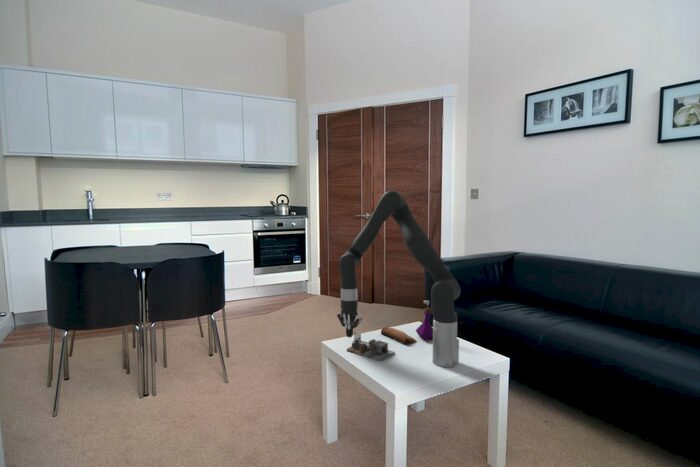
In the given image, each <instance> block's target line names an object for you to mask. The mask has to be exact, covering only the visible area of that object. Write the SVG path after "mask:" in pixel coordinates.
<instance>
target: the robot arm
mask: <svg viewBox="0 0 700 467" xmlns="http://www.w3.org/2000/svg"><path fill="white" fill-rule="evenodd" d="M390 216H391V218H393V219H394V221H395V223H396V224H397V226H398V227H399V229H400V232H401V235H402V239H403V242H404V244H405V246H406V248H407V249H408V251H409V253H410V255H411V256H412V257H413V259H414V260H415V261H416V262H418V264H419V265H420V266H422V267H423V269H425V270H426V272H428V273H429V275H431V277H432V280H434V284H433V285H432V287H431V291H430V303H431V304H430V307H431V312H432V314H431V315H432V317H433V318H432V328H433V339H432V363H433V364H434V365H436V366H439V367H441V368H442V367H445V368H446V367H447V368H453V367H455V366H457V365H458V364H460V363H459V360H460V358H459V357H460V339H459V338H458V314H457V312H456V311H455V303H454V302H455V301H456V300H457V299H458V298H459V297H460V295H461V286H460V284H459V283H458V281H457V279H456V278H455V277H454V276H453V274H452V272H450V270H449V269H448V268H447V266H446V265H445V263H444V261H443V260H442V259H441V257H440V255H439V254H438V251H436V249H435V248H434V245H433V244H432V242H431V241H430V239H429V237H428V236H427V234H426V232H425V231H424V230H423V228H422V227H421V225H420V224H419V223H418V221H417V220H416V219H415V217H414V216H413V214H412V212H411V210H410V207H409V206H408V204H407V201H406V199H405V198H404V196H403V195H402V194H400V193H399V192H397V191H396V190H388V191H385V192H384V193H383V194H382V196H381V197H380V199H379V201H378V203H377V205H376V207H375V209H374V211H373V212H372V214H371V216H370V217H369V219H368V220H367V222H366V224H365V225H364V227H363V228H362V229H361V231H360V232H359V233H358V234H357V236H356V237H355V239H354V240H353V241H352V243H351V246H350V247H349V248H348V249H347V251H346V252H345V253H344V254H342V256H340V258H339V272H340V279H341V280H340V313H338V314H337V315H336V317H337V318H338V321H339V323H340V324H341V326H342V327H344V328H345V335H346V337H347V338H352V337H354V329H356V328H357V327H358V326H359V325H360V323H361V321H362V320H363V318H362V317H360V316H359V314H358V308H359V303H358V302H359V299H358V298H359V297H358V295H359V294H358V293H359V292H358V277H357V275H356V266H357V265H358V263H359V262H360V261H361V259H362V258H363V256H364V254H365V253H366V252H367V251H368V250H369V248H370V247H372V244H374V242H375V240H376V238H377V236H378V234H379V233H380V230H381V228H382V226H383V224H384V223H385V222H386V220H387V219H388V218H389V217H390Z"/></svg>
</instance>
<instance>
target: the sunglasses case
mask: <svg viewBox="0 0 700 467" xmlns="http://www.w3.org/2000/svg"><path fill="white" fill-rule="evenodd" d="M380 334H381V335H383V336H387V337H390V338H392V339H393V340H396V341H398V342H400V343H402V344H403V345H405V346H407V345H411V344H415V343H418V340H416V339H415V338H413V337H411V336H410V335H408V334H406V332H404V331H402V330H400V329H396V328H393V327H388V326H387V327H382V329H381V330H380Z"/></svg>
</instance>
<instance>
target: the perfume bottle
mask: <svg viewBox="0 0 700 467" xmlns="http://www.w3.org/2000/svg"><path fill="white" fill-rule="evenodd" d="M422 302H423V304H424V305H426V306H427V307H425V308H424V311H423V314H424V319H423V322H422V323H421V324H420V325H419V326H418V327H417V328H416V329H415V333H417V335H418V336H419V338H420V339H421V340H422V341H433V325H431V323H430V317H431V315H433V314H432V310H431V308H430V307H429V305H430V300H423V301H422Z"/></svg>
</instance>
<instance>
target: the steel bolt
mask: <svg viewBox="0 0 700 467" xmlns="http://www.w3.org/2000/svg"><path fill="white" fill-rule="evenodd" d="M361 341H362V332H361V331H355V332H354V331H353V341H352V343H356V344H359V345H361V344H363V343H364V342H365V341H364V342H361ZM352 343H351V344H352ZM364 344H366V350H368V349H370V344H367V343H364Z"/></svg>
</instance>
